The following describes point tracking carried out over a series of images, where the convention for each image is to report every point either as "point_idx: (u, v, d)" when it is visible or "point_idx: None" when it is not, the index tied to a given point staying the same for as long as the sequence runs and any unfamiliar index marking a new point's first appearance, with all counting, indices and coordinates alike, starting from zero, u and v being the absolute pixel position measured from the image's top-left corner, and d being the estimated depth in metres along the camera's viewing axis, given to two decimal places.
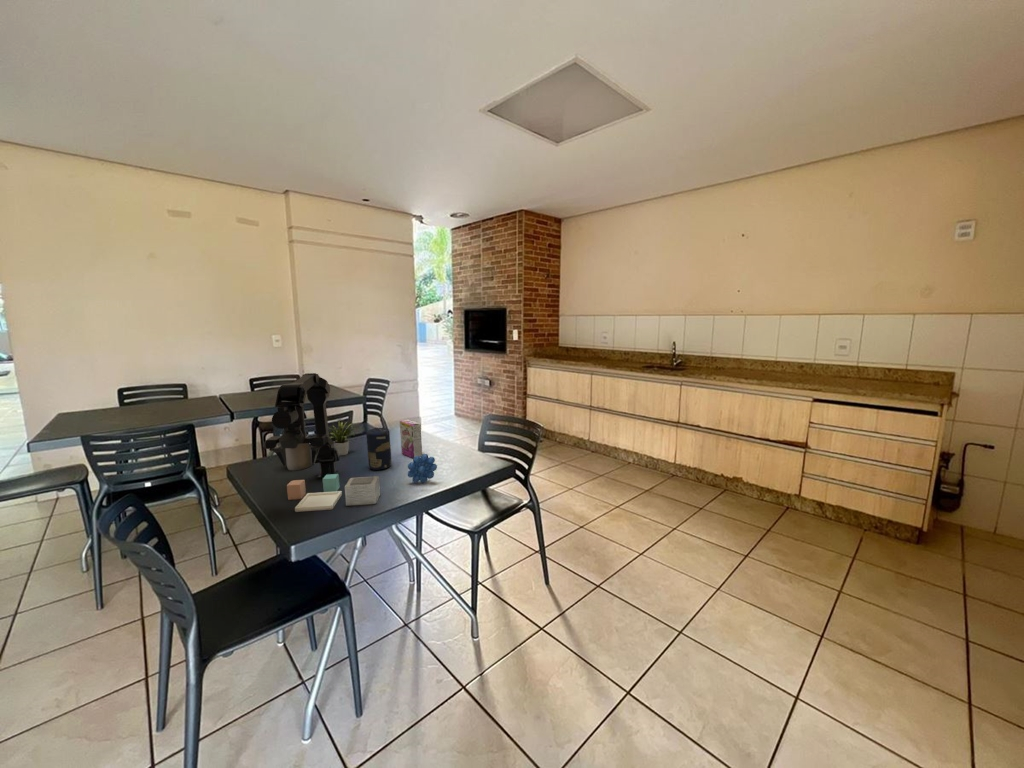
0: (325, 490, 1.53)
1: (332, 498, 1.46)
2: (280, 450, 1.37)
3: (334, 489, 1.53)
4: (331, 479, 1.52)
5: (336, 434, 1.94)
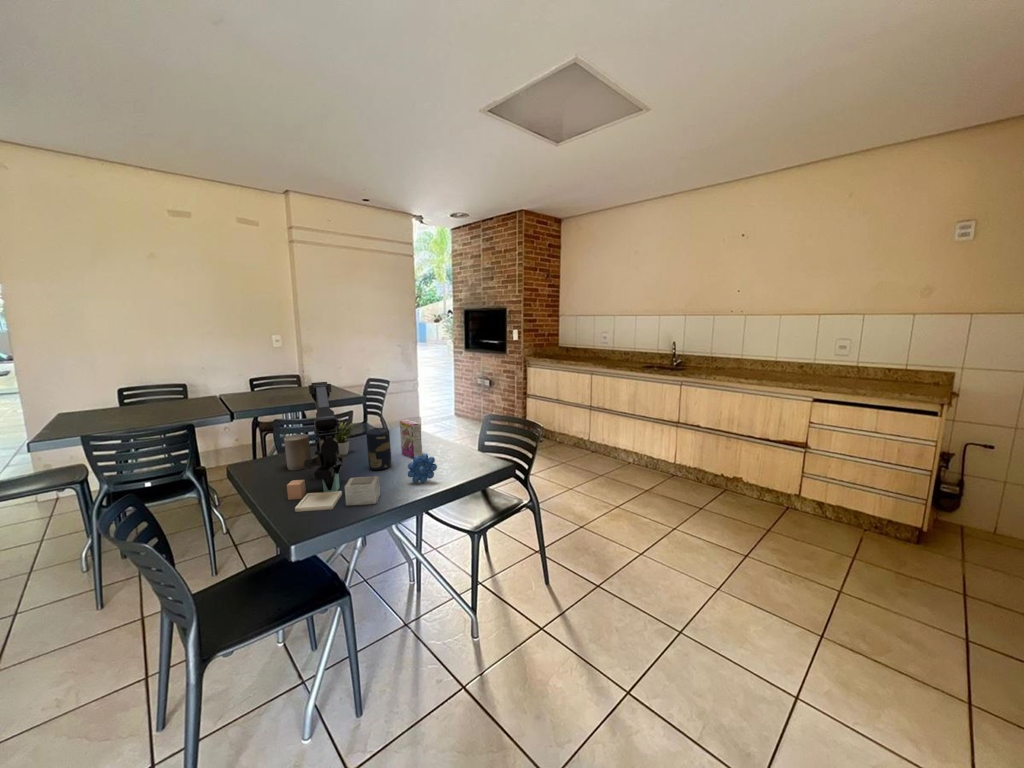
0: (325, 490, 1.53)
1: (332, 498, 1.46)
2: None
3: (334, 489, 1.53)
4: None
5: (336, 434, 1.94)
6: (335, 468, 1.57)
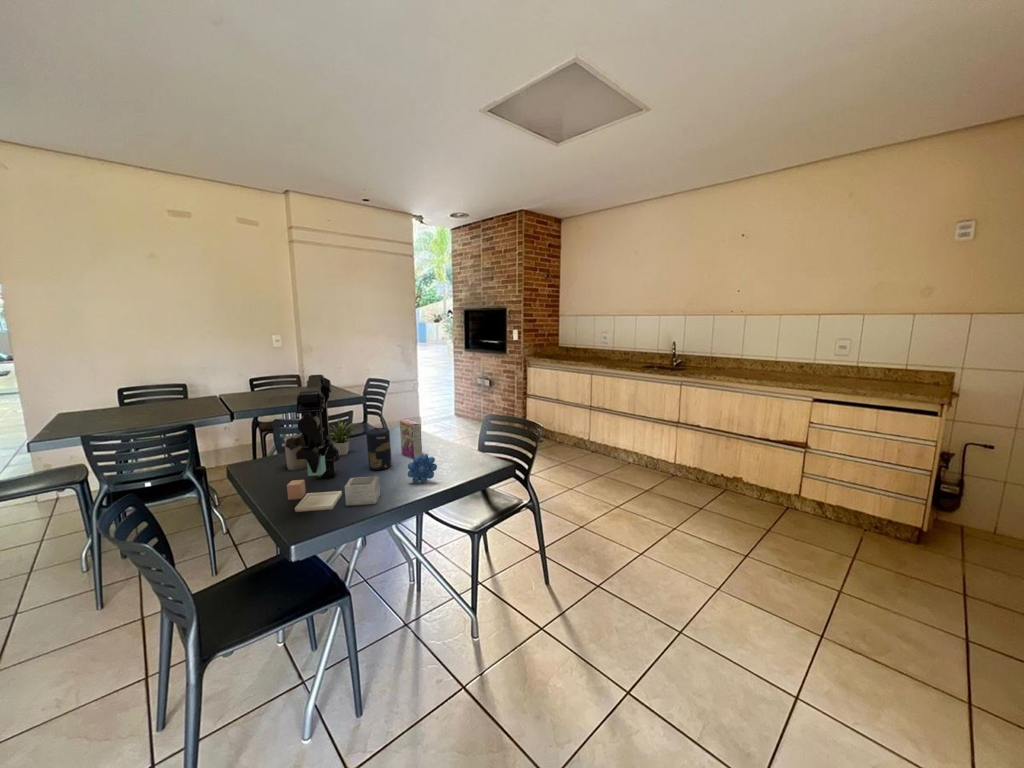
0: (310, 473, 1.40)
1: (332, 498, 1.46)
2: None
3: (319, 472, 1.41)
4: None
5: (336, 434, 1.94)
6: (321, 450, 1.45)
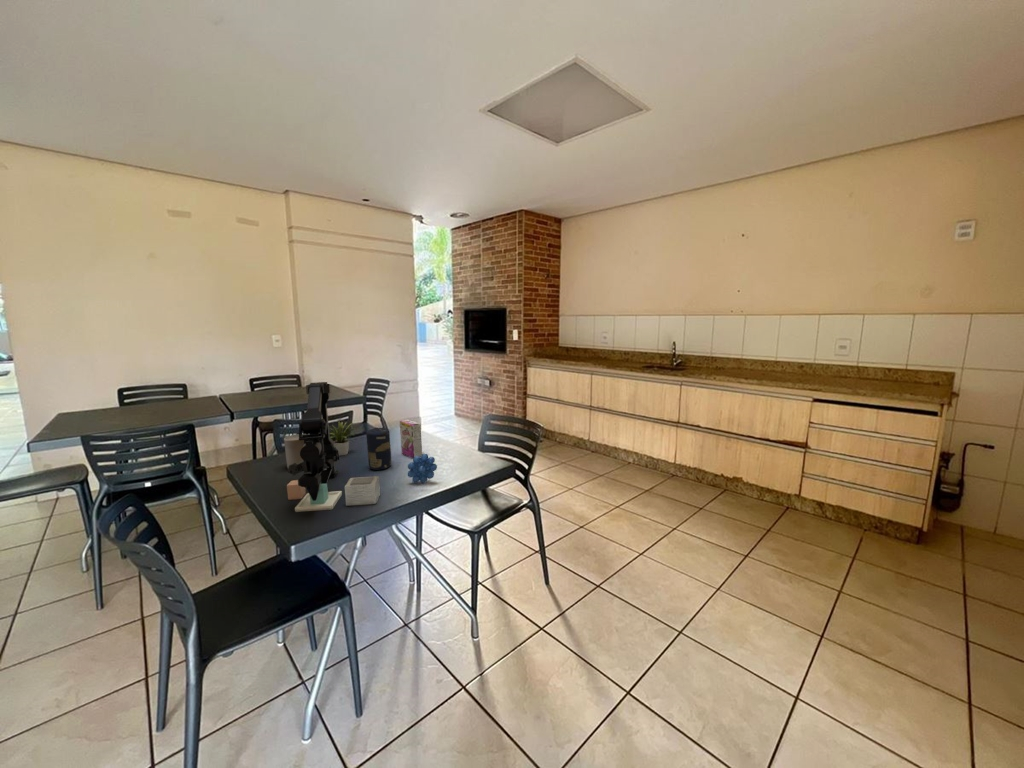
0: (312, 501, 1.42)
1: (332, 498, 1.46)
2: None
3: (322, 500, 1.42)
4: None
5: (336, 434, 1.94)
6: (325, 472, 1.48)
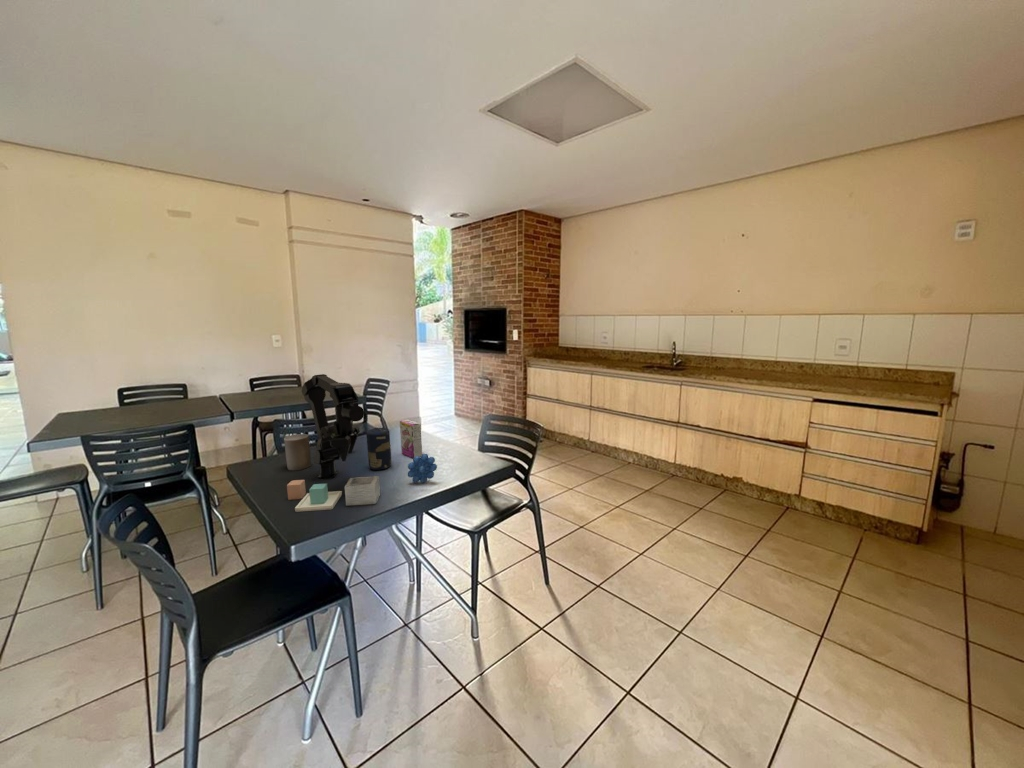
0: (312, 501, 1.42)
1: (332, 498, 1.46)
2: None
3: (322, 500, 1.42)
4: (318, 489, 1.41)
5: None
6: (352, 437, 1.60)
